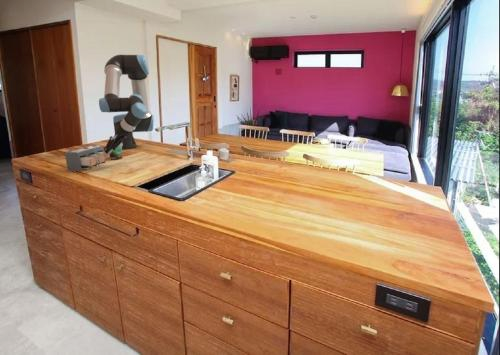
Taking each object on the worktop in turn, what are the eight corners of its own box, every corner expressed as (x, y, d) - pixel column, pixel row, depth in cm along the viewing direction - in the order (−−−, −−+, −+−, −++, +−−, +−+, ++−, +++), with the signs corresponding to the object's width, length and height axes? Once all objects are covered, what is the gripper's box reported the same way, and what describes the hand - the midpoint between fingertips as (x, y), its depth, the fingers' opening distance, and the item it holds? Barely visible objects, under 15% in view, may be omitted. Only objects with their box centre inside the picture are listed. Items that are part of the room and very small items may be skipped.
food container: (119, 161, 195) (117, 144, 192) (109, 161, 196) (107, 144, 193) (127, 156, 207) (125, 140, 204) (117, 156, 207) (115, 140, 204)
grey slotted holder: (105, 162, 191) (103, 145, 188) (80, 171, 174) (77, 152, 171) (93, 161, 193) (90, 144, 190) (67, 170, 176) (64, 151, 173)
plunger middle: (104, 161, 181) (103, 155, 180) (99, 162, 178) (99, 156, 177) (93, 160, 183) (92, 154, 182) (88, 162, 180) (87, 155, 179)
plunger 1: (96, 164, 175) (95, 157, 174) (91, 165, 172) (90, 159, 171) (84, 163, 177) (83, 156, 176) (79, 165, 174) (78, 158, 173)
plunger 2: (105, 158, 189) (104, 152, 188) (101, 159, 185) (100, 153, 184) (94, 157, 191) (93, 151, 190) (89, 158, 187) (89, 152, 186)
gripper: (123, 134, 171) (101, 163, 180) (138, 130, 183) (116, 158, 192) (113, 123, 171) (91, 153, 180) (129, 120, 183) (107, 148, 192)
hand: (104, 156), depth 186 cm, fingers closed
